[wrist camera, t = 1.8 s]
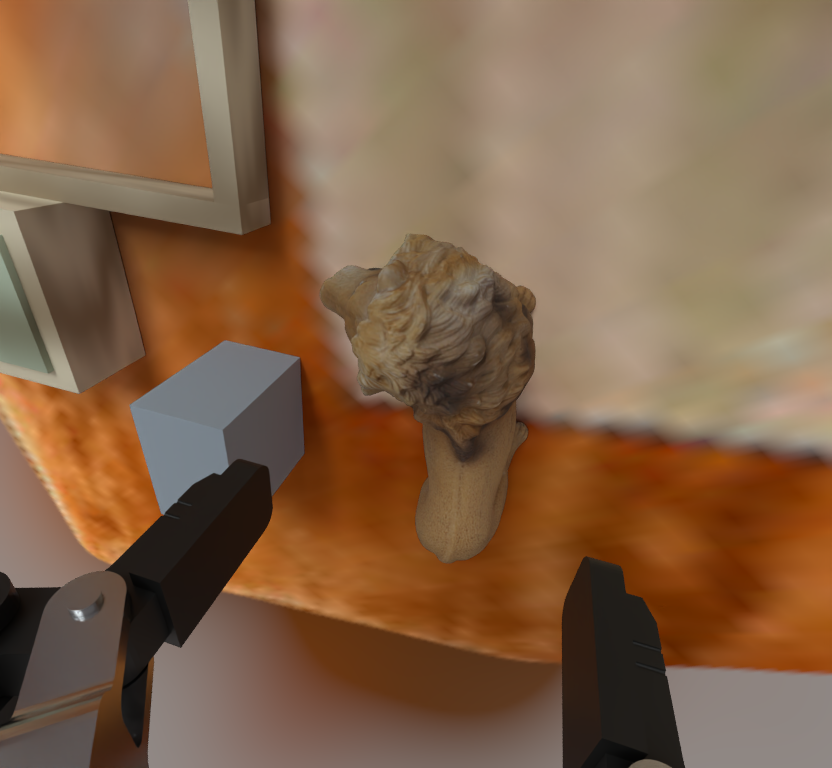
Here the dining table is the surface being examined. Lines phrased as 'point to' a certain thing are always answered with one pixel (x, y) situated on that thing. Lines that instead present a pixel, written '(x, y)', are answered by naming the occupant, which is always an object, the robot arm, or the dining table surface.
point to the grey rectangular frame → (108, 191)
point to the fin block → (222, 418)
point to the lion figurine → (445, 376)
